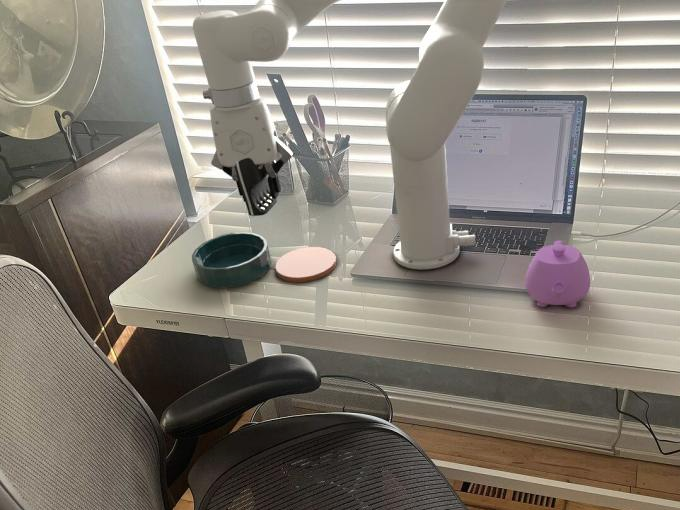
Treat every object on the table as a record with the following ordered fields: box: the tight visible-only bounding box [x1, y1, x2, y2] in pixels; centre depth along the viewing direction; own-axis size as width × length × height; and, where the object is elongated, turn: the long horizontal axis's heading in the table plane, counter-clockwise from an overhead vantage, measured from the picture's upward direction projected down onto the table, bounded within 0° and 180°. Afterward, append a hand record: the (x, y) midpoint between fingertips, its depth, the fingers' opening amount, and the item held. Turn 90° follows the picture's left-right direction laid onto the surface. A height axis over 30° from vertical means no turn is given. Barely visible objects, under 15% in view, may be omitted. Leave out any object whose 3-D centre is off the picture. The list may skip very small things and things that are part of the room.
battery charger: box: [234, 158, 278, 217], centre depth 121 cm, size 7×4×11 cm, turn 164°
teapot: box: [524, 240, 591, 308], centre depth 111 cm, size 10×15×9 cm
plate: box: [274, 246, 337, 283], centre depth 131 cm, size 12×12×1 cm
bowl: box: [191, 231, 273, 288], centre depth 131 cm, size 14×14×4 cm
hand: (261, 196), depth 123 cm, fingers closed on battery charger, 4 cm apart
